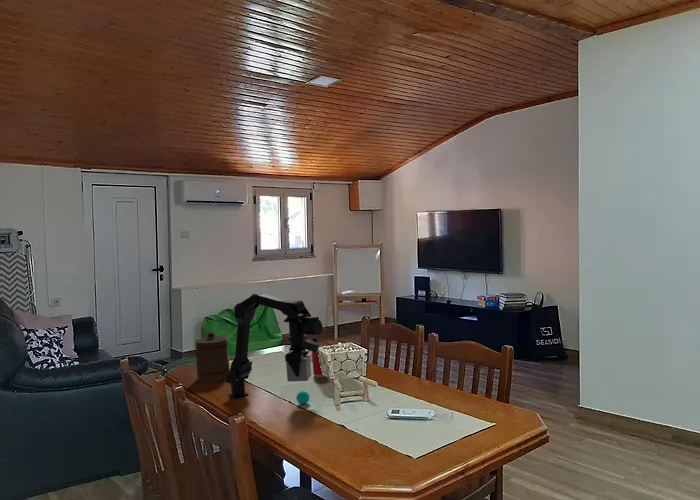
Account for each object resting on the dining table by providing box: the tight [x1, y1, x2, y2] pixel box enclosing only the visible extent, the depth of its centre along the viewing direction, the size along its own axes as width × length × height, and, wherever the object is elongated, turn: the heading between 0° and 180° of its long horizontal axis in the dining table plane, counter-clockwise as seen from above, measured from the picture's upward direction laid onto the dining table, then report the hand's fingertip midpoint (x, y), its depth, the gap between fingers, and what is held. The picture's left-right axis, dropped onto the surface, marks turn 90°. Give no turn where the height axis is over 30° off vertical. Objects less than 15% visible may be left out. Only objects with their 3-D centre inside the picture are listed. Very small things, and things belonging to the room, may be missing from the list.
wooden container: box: [195, 330, 231, 382], centre depth 276 cm, size 15×15×22 cm
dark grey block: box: [285, 355, 312, 383], centre depth 228 cm, size 8×8×8 cm
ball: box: [295, 390, 310, 405], centre depth 228 cm, size 5×5×5 cm
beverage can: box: [311, 351, 325, 378], centre depth 268 cm, size 6×6×12 cm
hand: (299, 373), depth 228 cm, fingers closed on dark grey block, 8 cm apart
